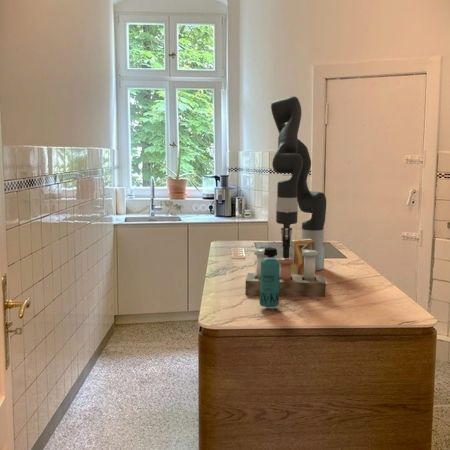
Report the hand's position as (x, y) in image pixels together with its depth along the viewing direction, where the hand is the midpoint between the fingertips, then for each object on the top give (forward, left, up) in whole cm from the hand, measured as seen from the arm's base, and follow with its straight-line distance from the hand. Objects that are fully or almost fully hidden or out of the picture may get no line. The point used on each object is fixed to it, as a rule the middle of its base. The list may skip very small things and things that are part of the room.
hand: (286, 257), depth 192 cm
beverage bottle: (+19, +13, -13) cm, 26 cm away
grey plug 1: (+6, -6, -8) cm, 12 cm away
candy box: (-20, -12, -13) cm, 27 cm away
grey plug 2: (-6, +6, -8) cm, 12 cm away
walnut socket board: (0, 0, -12) cm, 13 cm away
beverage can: (-9, -21, -13) cm, 26 cm away
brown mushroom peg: (0, 0, -11) cm, 11 cm away
